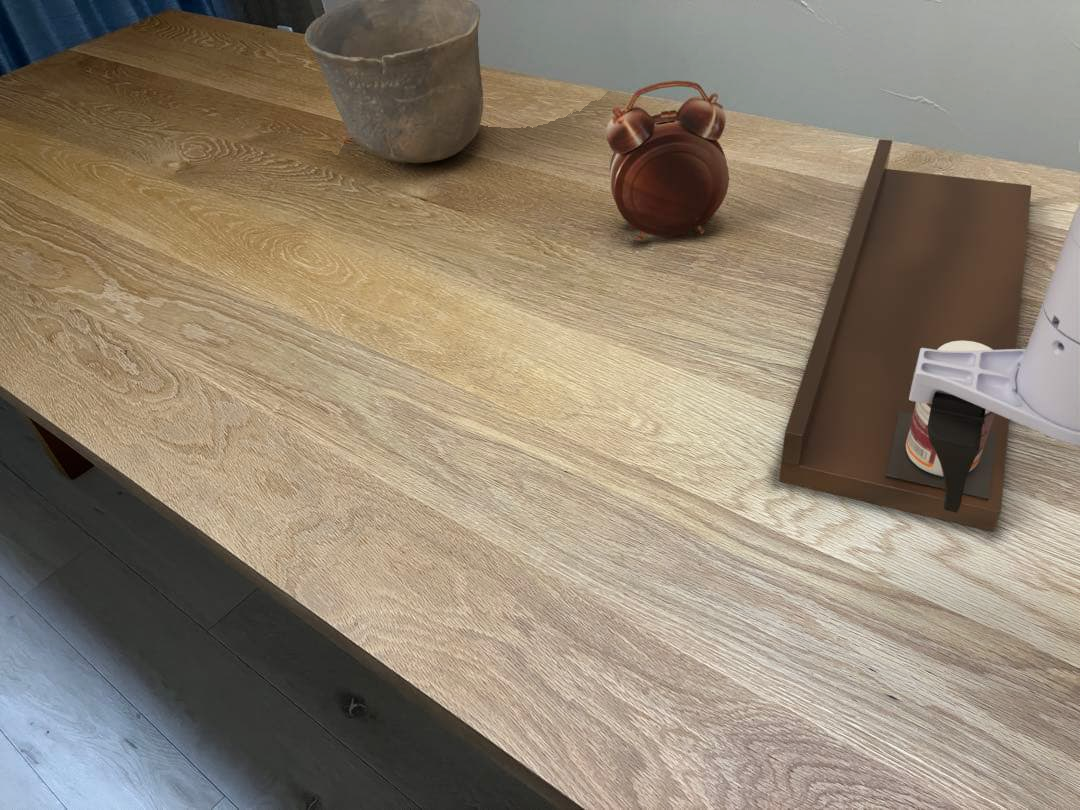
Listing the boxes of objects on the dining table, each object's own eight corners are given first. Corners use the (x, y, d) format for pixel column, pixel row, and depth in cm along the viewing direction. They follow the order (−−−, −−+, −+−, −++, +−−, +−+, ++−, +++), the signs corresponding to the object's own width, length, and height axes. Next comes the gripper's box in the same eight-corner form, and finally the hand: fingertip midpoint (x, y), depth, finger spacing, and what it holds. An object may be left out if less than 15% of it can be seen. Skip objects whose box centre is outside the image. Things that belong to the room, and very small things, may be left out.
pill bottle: (982, 437, 63) (1014, 344, 57) (974, 486, 60) (1007, 393, 54) (910, 421, 65) (934, 329, 59) (898, 468, 62) (922, 376, 56)
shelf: (1025, 204, 86) (1041, 155, 83) (993, 532, 60) (1013, 481, 57) (871, 185, 91) (879, 138, 87) (778, 481, 65) (784, 432, 61)
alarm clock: (717, 211, 90) (725, 63, 80) (728, 238, 87) (737, 87, 76) (607, 224, 90) (600, 77, 80) (613, 252, 87) (607, 102, 76)
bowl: (393, 212, 96) (360, 74, 85) (313, 156, 106) (275, 27, 96) (526, 148, 103) (510, 13, 92) (438, 102, 113) (416, -24, 103)
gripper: (1305, 288, 39) (1182, 493, 49) (946, 239, 44) (897, 433, 54) (1332, 396, 35) (1190, 599, 44) (928, 327, 40) (878, 523, 49)
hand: (1029, 515), depth 49 cm, fingers open, 7 cm apart
